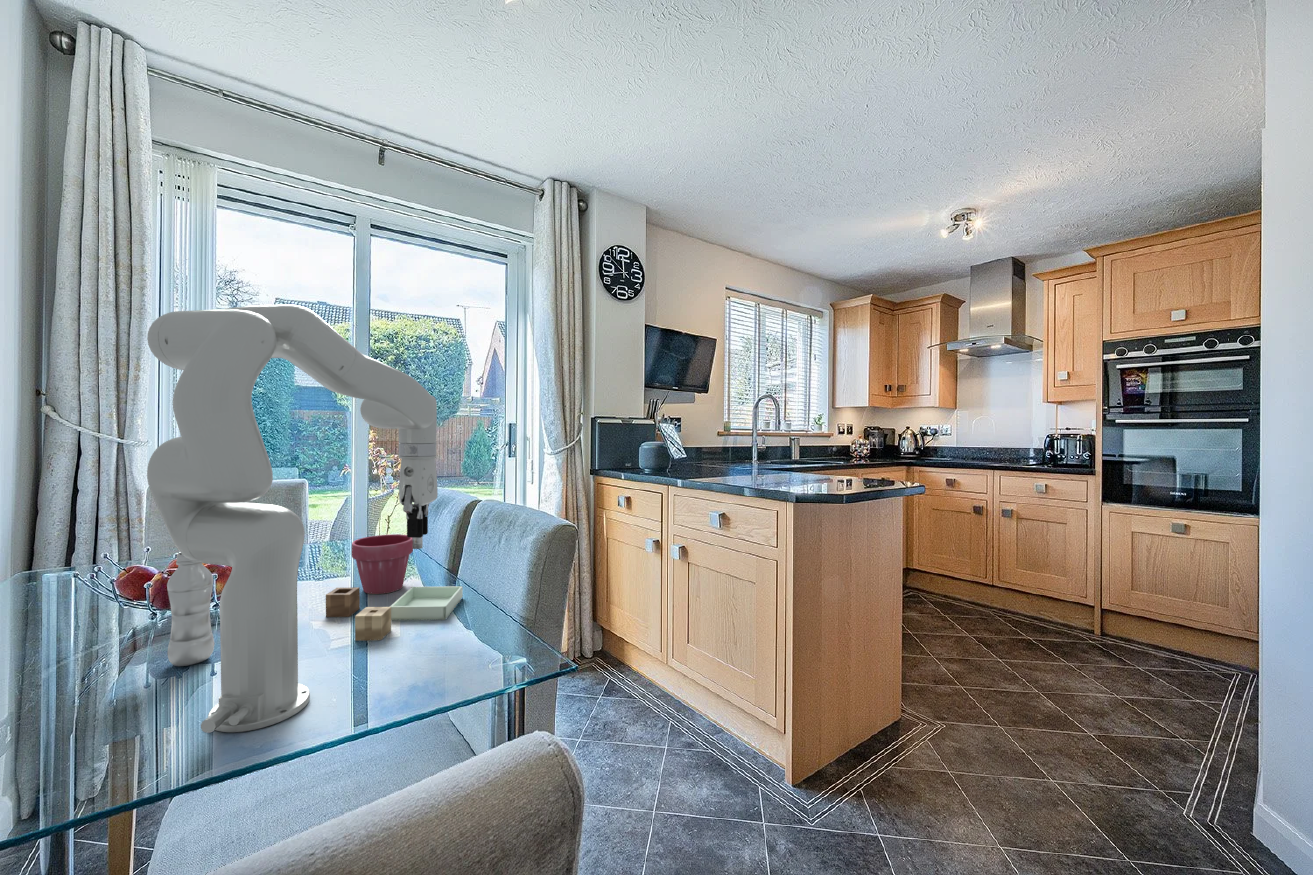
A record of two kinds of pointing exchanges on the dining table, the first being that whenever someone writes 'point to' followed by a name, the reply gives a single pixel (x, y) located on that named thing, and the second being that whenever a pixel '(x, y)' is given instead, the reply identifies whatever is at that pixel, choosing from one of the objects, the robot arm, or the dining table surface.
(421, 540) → the pin
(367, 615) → the oak block
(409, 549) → the plant pot
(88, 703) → the dining table surface
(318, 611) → the dining table surface
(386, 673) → the dining table surface
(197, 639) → the plastic bottle
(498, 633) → the dining table surface
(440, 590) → the tray
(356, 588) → the walnut block
